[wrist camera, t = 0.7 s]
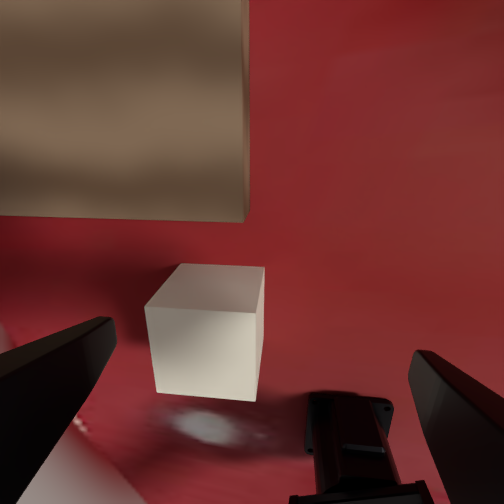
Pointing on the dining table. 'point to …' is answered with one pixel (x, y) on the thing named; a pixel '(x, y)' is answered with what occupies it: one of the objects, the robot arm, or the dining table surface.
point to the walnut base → (125, 109)
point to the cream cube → (208, 331)
